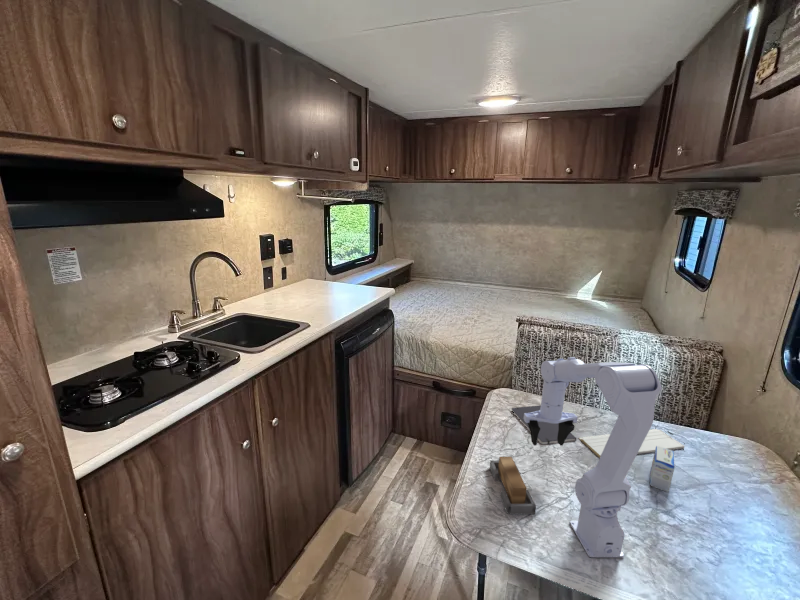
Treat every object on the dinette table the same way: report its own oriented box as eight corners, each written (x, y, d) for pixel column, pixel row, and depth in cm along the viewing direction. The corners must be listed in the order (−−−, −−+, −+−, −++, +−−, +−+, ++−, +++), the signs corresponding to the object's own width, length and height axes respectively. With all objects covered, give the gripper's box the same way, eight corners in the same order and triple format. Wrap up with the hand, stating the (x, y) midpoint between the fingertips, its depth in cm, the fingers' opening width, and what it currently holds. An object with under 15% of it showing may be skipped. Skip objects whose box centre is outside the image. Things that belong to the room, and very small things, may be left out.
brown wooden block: (524, 504, 94) (526, 487, 92) (511, 504, 94) (513, 487, 92) (509, 471, 105) (511, 456, 104) (498, 471, 105) (499, 456, 104)
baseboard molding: (575, 437, 124) (600, 460, 112) (576, 430, 123) (602, 452, 112) (652, 428, 130) (683, 450, 118) (654, 421, 129) (685, 442, 117)
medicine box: (650, 470, 108) (655, 444, 106) (668, 476, 105) (674, 450, 103) (649, 485, 102) (655, 459, 99) (669, 493, 99) (675, 466, 97)
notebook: (575, 442, 121) (540, 408, 141) (576, 438, 121) (540, 405, 141) (541, 446, 119) (510, 411, 139) (542, 442, 118) (510, 408, 139)
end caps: (535, 514, 91) (536, 506, 91) (507, 514, 91) (508, 506, 91) (513, 467, 108) (514, 460, 107) (489, 467, 108) (490, 460, 107)
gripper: (571, 394, 105) (565, 434, 108) (521, 393, 105) (517, 434, 108) (583, 406, 98) (576, 450, 102) (530, 406, 98) (525, 450, 101)
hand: (546, 443), depth 104 cm, fingers open, 7 cm apart
